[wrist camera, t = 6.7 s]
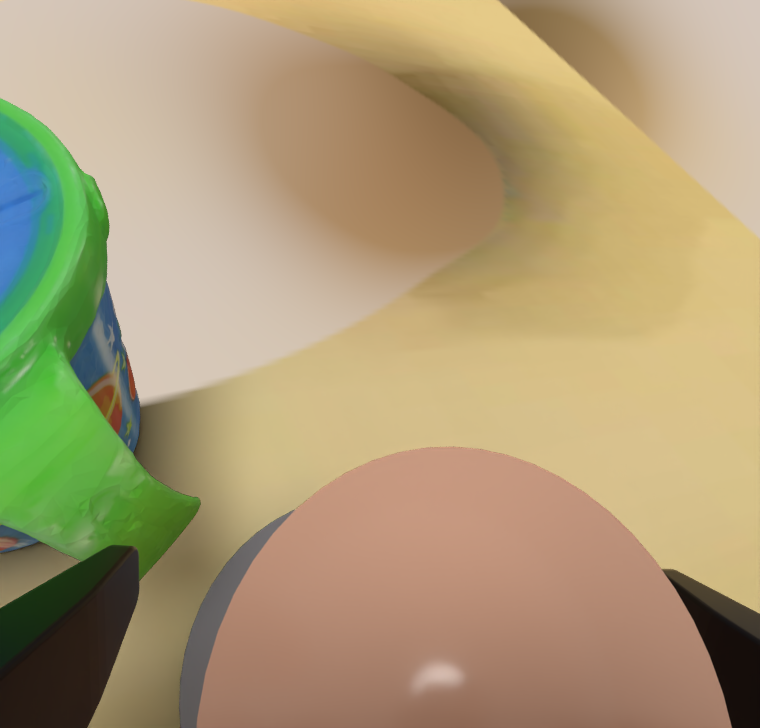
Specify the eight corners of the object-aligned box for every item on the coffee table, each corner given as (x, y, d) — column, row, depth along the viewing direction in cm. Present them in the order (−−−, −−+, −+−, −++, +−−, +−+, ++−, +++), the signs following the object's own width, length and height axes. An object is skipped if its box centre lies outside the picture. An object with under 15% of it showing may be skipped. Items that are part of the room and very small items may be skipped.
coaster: (524, 891, 13) (532, 900, 13) (139, 884, 12) (132, 895, 12) (498, 514, 18) (504, 510, 18) (223, 489, 18) (221, 484, 17)
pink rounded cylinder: (463, 717, 15) (857, 876, 4) (301, 814, 13) (319, 1423, 3) (394, 551, 17) (549, 392, 6) (246, 618, 15) (136, 549, 5)
